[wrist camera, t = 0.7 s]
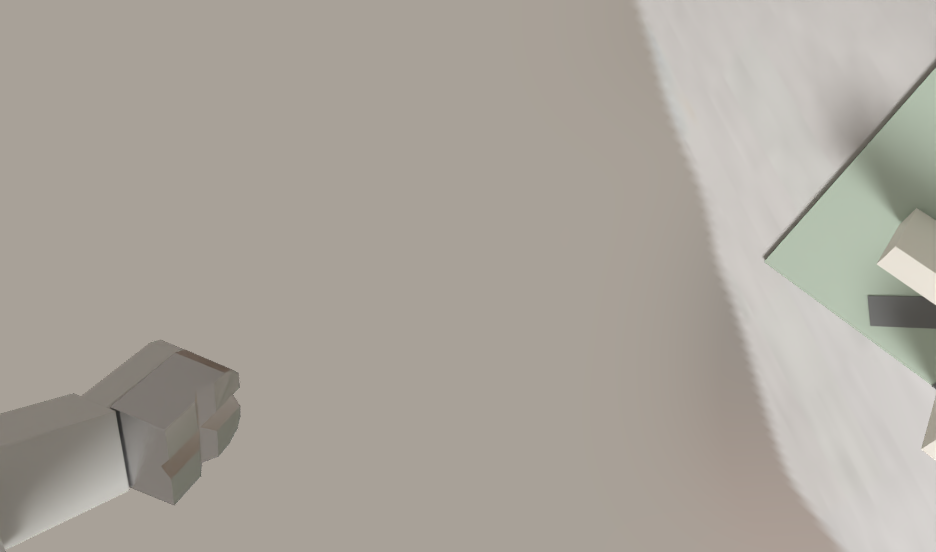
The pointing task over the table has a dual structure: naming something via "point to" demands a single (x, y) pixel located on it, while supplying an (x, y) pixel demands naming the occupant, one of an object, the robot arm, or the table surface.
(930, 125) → the mat
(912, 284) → the white rectangular slab
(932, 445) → the fixed rail
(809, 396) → the table surface
